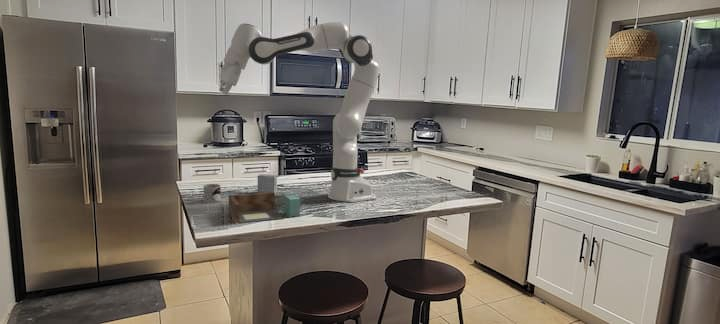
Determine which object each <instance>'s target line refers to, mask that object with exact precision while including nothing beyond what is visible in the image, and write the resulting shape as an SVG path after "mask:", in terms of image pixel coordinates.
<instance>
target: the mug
mask: <svg viewBox="0 0 720 324" xmlns="http://www.w3.org/2000/svg"><path fill="white" fill-rule="evenodd" d="M221 189H222V187H221V185H220V184H219V183H218V184H217V183H207V184H204V185H203V202H204V203H206V204H217V203H220V202H221V195H222V190H221Z"/></svg>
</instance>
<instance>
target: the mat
mask: <svg viewBox="0 0 720 324" xmlns="http://www.w3.org/2000/svg"><path fill="white" fill-rule="evenodd" d="M278 220H284V217H283V216H282V215H281V214H280V213H279V212H278V211H277V210H276V209H271V210H260V211H248V212H240V223H239V224H246V223H256V222H257V223H258V222H265V221H267V222H269V221H278Z"/></svg>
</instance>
